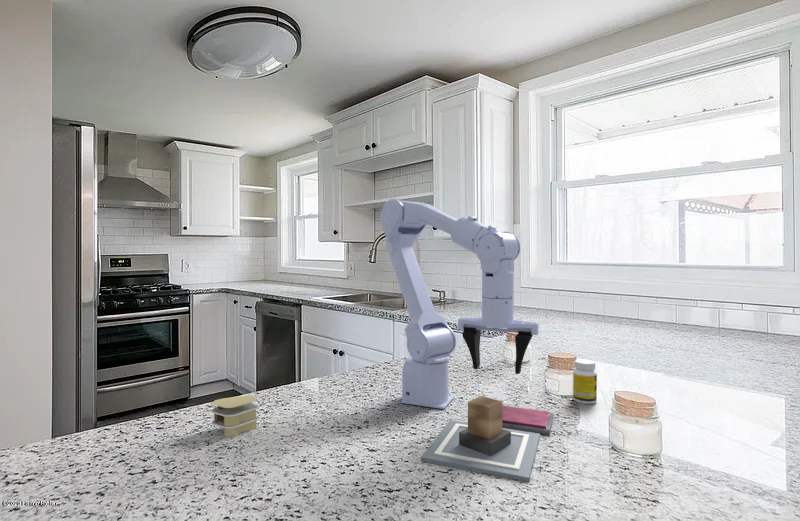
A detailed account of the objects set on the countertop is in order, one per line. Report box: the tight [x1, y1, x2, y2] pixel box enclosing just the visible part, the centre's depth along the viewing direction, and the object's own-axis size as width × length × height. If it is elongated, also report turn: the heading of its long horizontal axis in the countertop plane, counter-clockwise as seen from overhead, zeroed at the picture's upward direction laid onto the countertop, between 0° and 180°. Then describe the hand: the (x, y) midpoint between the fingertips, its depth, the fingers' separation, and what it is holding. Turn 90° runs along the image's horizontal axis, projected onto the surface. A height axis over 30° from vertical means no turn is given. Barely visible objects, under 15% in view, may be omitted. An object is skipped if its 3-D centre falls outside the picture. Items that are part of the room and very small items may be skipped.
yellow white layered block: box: [211, 394, 260, 438], centre depth 80 cm, size 10×9×6 cm
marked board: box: [420, 419, 541, 483], centre depth 73 cm, size 16×16×1 cm
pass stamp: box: [459, 395, 511, 456], centre depth 73 cm, size 6×6×7 cm
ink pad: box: [502, 404, 554, 436], centre depth 84 cm, size 11×9×1 cm
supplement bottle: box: [572, 358, 598, 405], centre depth 95 cm, size 5×5×8 cm
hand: (496, 370), depth 83 cm, fingers open, 7 cm apart
